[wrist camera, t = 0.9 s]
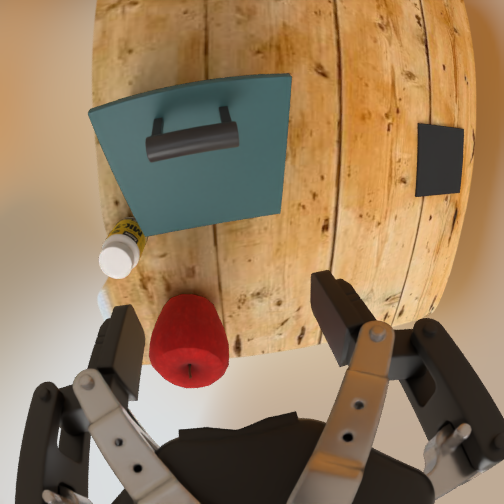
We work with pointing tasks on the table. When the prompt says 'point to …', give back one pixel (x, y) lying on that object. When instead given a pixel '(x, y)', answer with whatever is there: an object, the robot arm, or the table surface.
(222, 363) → the apple
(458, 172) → the mat
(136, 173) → the lunchbox lid
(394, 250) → the table surface
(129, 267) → the supplement bottle
